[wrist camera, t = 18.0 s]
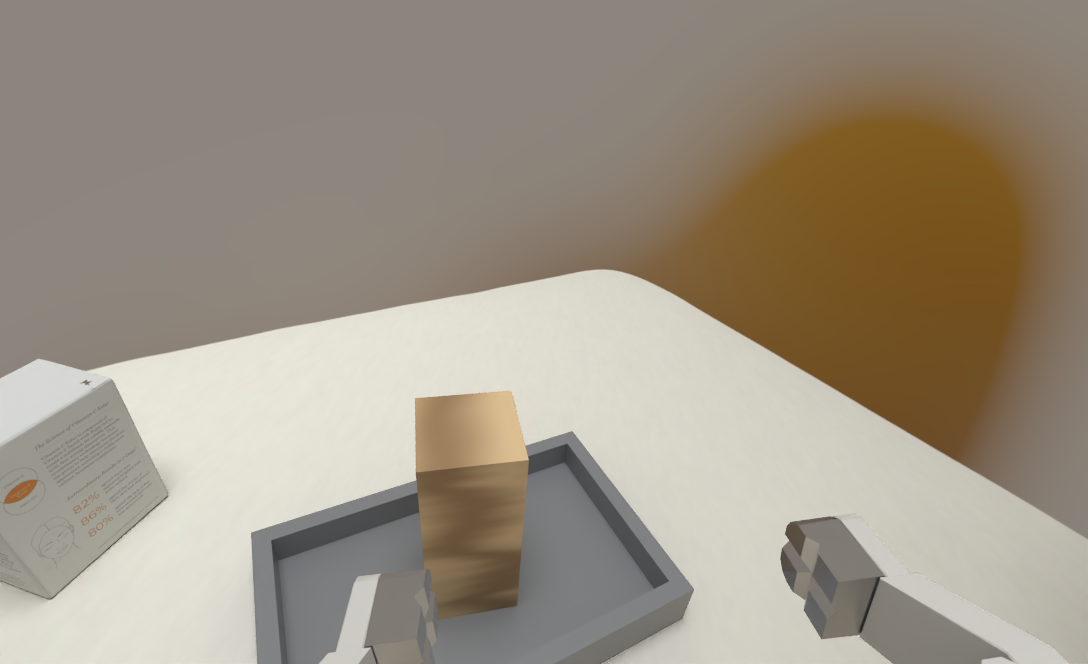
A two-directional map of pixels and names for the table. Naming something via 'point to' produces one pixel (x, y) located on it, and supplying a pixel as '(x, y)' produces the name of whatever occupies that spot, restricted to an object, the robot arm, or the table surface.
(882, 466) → the table surface
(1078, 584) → the table surface
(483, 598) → the oak block
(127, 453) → the small box
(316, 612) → the tray
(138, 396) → the table surface
